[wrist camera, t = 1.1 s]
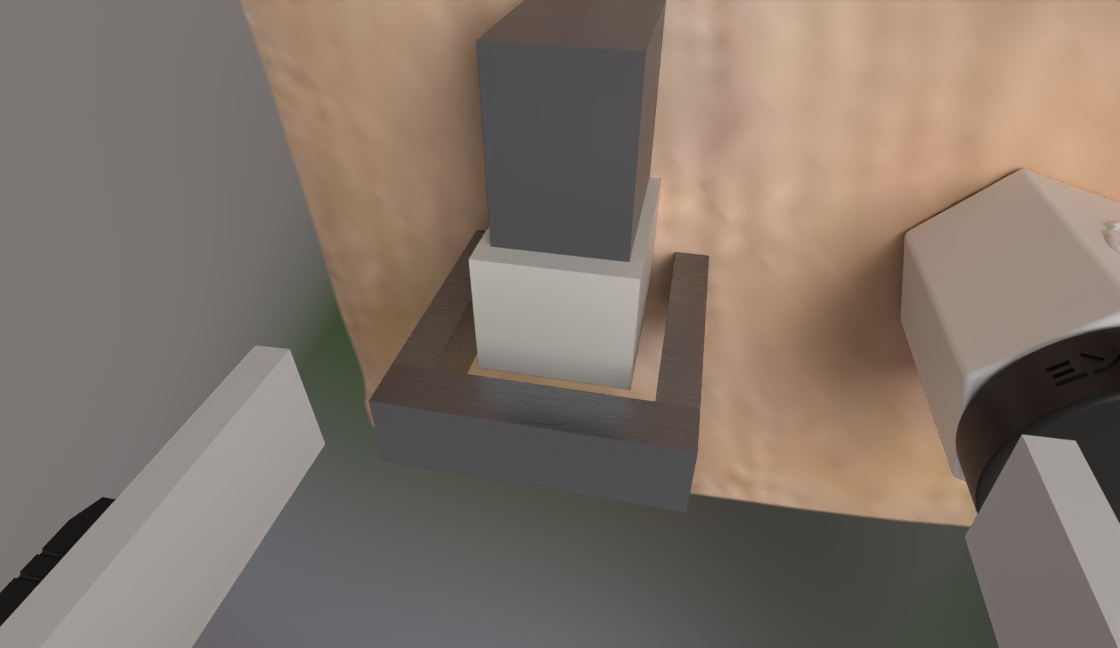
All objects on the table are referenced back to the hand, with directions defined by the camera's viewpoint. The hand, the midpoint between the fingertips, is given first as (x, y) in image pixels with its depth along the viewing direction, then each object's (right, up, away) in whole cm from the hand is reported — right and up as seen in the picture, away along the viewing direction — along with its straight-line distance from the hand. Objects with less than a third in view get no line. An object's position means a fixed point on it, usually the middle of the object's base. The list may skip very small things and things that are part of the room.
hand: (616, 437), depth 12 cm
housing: (0, +5, +19) cm, 20 cm away
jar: (+18, +5, +15) cm, 24 cm away
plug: (0, +9, +16) cm, 18 cm away
